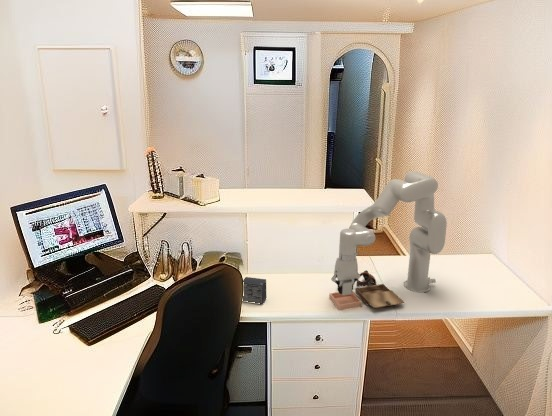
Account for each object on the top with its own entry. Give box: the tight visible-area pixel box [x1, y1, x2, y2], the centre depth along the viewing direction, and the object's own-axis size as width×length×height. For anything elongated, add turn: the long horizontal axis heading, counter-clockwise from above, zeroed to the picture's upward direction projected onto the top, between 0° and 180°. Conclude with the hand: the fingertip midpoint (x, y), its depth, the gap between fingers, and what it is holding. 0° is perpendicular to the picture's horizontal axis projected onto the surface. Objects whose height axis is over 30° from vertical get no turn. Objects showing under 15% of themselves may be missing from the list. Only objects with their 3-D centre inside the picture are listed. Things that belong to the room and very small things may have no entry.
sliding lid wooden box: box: [354, 283, 405, 309], centre depth 200 cm, size 16×19×4 cm
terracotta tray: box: [328, 291, 363, 311], centre depth 199 cm, size 11×11×3 cm
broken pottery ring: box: [356, 270, 377, 288], centre depth 216 cm, size 12×10×8 cm
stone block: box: [342, 280, 353, 295], centre depth 197 cm, size 4×4×6 cm
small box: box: [242, 276, 268, 305], centre depth 201 cm, size 11×6×10 cm, turn 74°
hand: (345, 291), depth 197 cm, fingers closed on stone block, 4 cm apart
